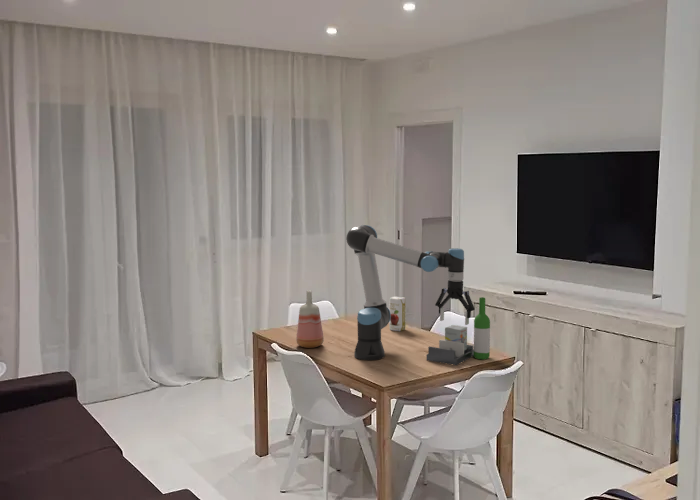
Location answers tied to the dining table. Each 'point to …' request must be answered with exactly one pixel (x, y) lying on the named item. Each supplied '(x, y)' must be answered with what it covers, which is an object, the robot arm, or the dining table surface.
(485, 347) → the wine bottle
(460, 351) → the block
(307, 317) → the vase
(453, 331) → the ink box
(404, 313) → the juice carton
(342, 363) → the dining table surface
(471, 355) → the dark grey tray
